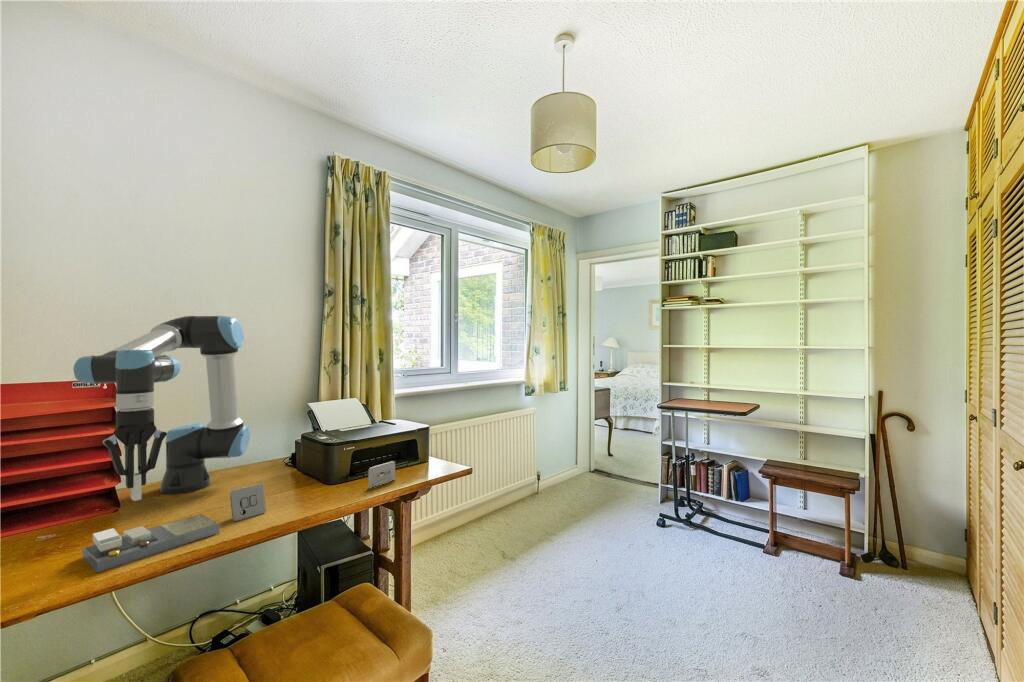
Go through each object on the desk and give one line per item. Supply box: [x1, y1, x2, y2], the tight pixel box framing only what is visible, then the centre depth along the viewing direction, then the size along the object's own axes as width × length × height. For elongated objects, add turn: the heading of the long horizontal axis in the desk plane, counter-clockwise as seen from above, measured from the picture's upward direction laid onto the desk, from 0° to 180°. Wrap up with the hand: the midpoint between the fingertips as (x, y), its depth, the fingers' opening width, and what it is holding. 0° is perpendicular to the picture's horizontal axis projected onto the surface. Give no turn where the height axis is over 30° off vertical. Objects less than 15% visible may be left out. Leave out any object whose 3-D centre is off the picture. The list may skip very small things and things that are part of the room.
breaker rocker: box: [92, 527, 122, 552], centre depth 111 cm, size 7×4×2 cm, turn 56°
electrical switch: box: [229, 483, 267, 522], centre depth 139 cm, size 9×5×9 cm, turn 141°
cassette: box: [368, 460, 396, 489], centre depth 168 cm, size 12×2×8 cm, turn 145°
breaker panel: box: [81, 513, 220, 574], centre depth 119 cm, size 13×26×4 cm, turn 146°
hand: (136, 498), depth 114 cm, fingers closed
